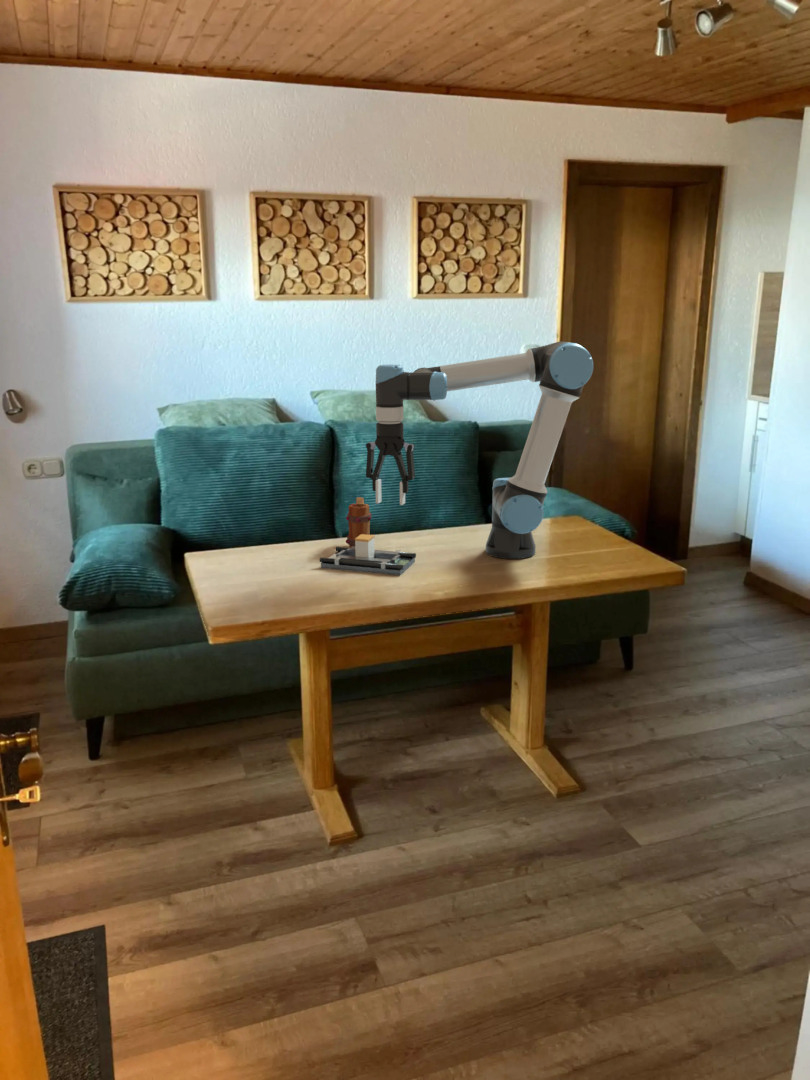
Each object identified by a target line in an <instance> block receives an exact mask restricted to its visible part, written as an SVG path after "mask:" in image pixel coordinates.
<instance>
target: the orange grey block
mask: <svg viewBox="0 0 810 1080" xmlns="http://www.w3.org/2000/svg"><path fill="white" fill-rule="evenodd" d="M374 550H375V534H371V535H365V534H361V535H359V536H358V537H357V538H355V553H356V557H366V558H374V557H375V556H374Z"/></svg>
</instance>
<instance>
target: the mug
mask: <svg viewBox="0 0 810 1080" xmlns="http://www.w3.org/2000/svg"><path fill="white" fill-rule="evenodd" d="M372 515H373V514H372V513H371V512H370V505H369V504H367V503H365V500H364V497H361V496H360V497H359V496H358V497H356V499H355V503H351V504H349V505H348V512H347V514H346V517H345V520H346V521H348V535H347V536H346V540H345V543H346V544H347V545H349V547H348V548H351V547H352V546H355V538H357V537H358V536H359V535H361V534H365V535H372V534H371V533H370V529H371V526H370V525H371V520H372Z"/></svg>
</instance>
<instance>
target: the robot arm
mask: <svg viewBox="0 0 810 1080" xmlns="http://www.w3.org/2000/svg"><path fill="white" fill-rule="evenodd" d="M593 372H594V360H593V358H592V355H591V353H590V352H589V350H587V349H586V348H585V347H583V345H581V344H578V343H576V342H571V341H570V342H568V341H556V342H553V343H549V344H545V345H541V346H538V347H533V348H532V347H531V348H528V349H527V350H526V351H525V352H524V353H523V352H522V353H517V354H511V355H509V354H508V355H504V356H496V357H490V358H484V359H475V360H470V361H464V362H456V363H450V364H446V365H445V364H444V365H440V366H431V367H418V368H416V370H414V371H412V372H408V371H405V370H404V366H403V365H401V364H381V365H378V366H377V367H376V369H375V407H376V408H375V415H376V416H375V420H376V421H377V422H376V425H375V426H376V428H375V429H376V431H375V433H376V434H375V435H376V438H375V440H374V441H369V442H366V444H365V448H366V451H367V453H366V454H367V455H366V466H365V468H366V469H365V477H366V478H367V479H368V478H369V479H370V480H371V481H372V491H373V492H375V504H380V503H382V478H380V473H381V471H382V468H383V465H384V462H385V459H386V457H387V456H392V457H393V459H394V460H395V462H396V465H397V469H398V472H399V474H400V478H401V481H399V506H404V504H406V494H407V493H409V481H412V480H414V479H415V478H416V473H415V471H416V470H415V462H414V449H415V444H414V443H408V442H406V441H405V438H404V423H403V420H404V401H410V400H411V401H439V400H445V399H446V398H447V396H448V395H447V393H448V392H452V391H459V390H465V389H474V388H480V387H486V386H487V387H488V386H493V385H500V384H506V383H507V384H509V383H513V382H521V381H522V382H523V381H528V380H529V381H530V382H531V383H537V382H539V384H538V387H539V389H540V391H541V396H540V398H539V402H538V405H537V408H536V411H535V413H534V417H533V420H532V423H531V426H530V428H529V432H528V434H527V439H526V441H525V444H524V447H523V449H522V453H521V456H520V460H519V463H518V465H517V467H516V472H515V474H514V475H513V476H512V477H499V478H495V479H493V482H492V489H491V490H492V507H491V511H492V512H491V517H492V518H491V528H490V532H489V534H488V537H487V540H486V542H485V553H486V554H487V555H489V556H491V557H494V558H498V559H500V558H501V559H509V560H511V559H512V560H516V559H526V558H530V557H532V556H535V555H536V543H535V540H534V536H533V531H535V530H536V529H538V527H539V526H540V525H541V524H542V521H543V518H544V506H543V505H544V502H545V500H546V497H547V495H548V489H547V487H546V485H545V483H546V480H547V477H548V475H549V471H550V468H551V465H552V462H553V460H554V457H555V455H556V451H557V448H558V445H559V441H560V439H561V436H562V433H563V430H564V427H565V424H566V421H567V418H568V415H569V413H570V411H571V410H570V409H571V406H572V404H573V402H575V401H576V400H578V399H580V397H581V394H582V391H583V389H584V385H586V384H587V383H588V381H589V380H590V379H591V377H592V375H593ZM376 448H377V449H378V450H379V452H378V456H377V461H376V464H375V467H374V461H375V460H374V459H375V449H376ZM403 448H404V450H405V452H406V453H405V455H406V465H405V462H404V459H403V454H402V450H403Z"/></svg>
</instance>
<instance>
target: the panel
mask: <svg viewBox="0 0 810 1080" xmlns="http://www.w3.org/2000/svg"><path fill="white" fill-rule="evenodd" d="M335 551H336V552H335V553H333V554H331V555H330V556H329V557H321V556H320V557H319V563H320V568H321V569H326V570H337V571H338V570H339V571H345V572H347V571H348V572H356V573H358V572H359V573H366V574H367V573H369V574H370V573H371V574H376V575H377V574H378V575H379V574H380V575H387V576H388V575H390V576H397V577H398V576H399V577H400V576H402V574H403V573H405V572H406V570H408V569H409V568H410V567H411V566H412V565H413V564H414V563H415V562H416V558H417V553H416V552H404V551H401V550H400V549H397V550H395V551H393V550H382V549H381V550H380V549H374V556H375V557H374V558H366V557H356V553H355V546H352V547H351V548H349V547H348V546H347V547H345V546H336V547H335Z"/></svg>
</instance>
